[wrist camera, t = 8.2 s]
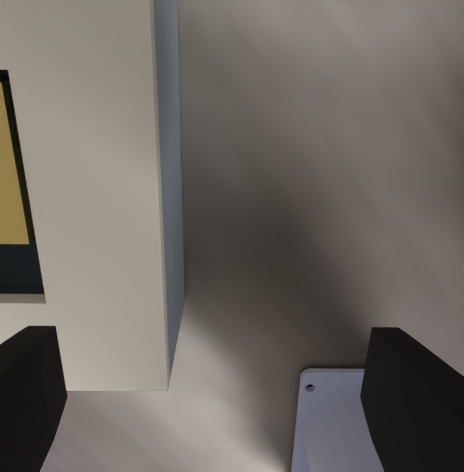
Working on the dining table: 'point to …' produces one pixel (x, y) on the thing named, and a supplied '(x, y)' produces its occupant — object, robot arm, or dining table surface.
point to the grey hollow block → (98, 186)
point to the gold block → (12, 176)
